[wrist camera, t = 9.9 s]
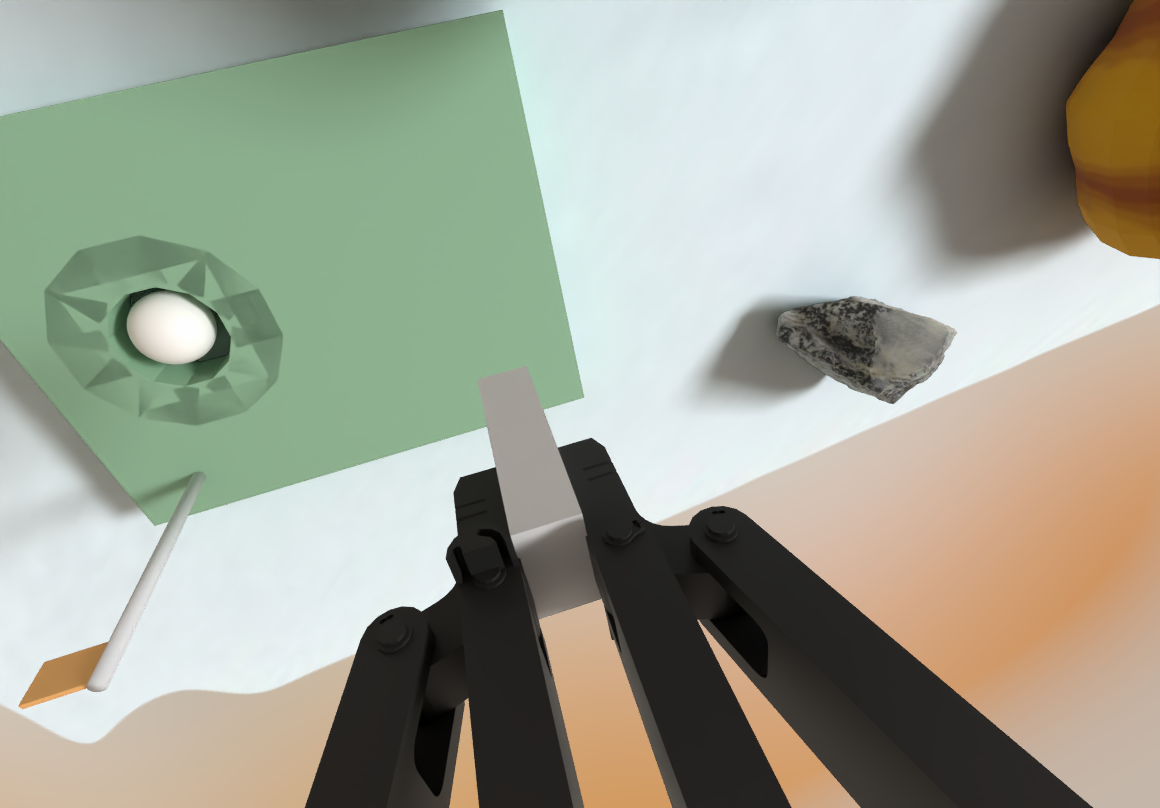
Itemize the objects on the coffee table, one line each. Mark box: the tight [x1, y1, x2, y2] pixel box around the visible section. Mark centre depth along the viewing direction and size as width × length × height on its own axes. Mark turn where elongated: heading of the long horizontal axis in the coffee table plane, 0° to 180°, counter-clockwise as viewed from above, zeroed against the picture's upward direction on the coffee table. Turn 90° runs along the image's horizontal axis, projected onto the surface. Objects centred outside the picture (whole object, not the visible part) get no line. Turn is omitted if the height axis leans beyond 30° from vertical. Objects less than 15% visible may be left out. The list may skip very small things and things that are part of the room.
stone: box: [776, 296, 957, 404], centre depth 42 cm, size 10×10×10 cm
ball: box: [127, 290, 217, 364], centre depth 31 cm, size 4×4×4 cm
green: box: [0, 10, 584, 709], centre depth 27 cm, size 28×22×17 cm
